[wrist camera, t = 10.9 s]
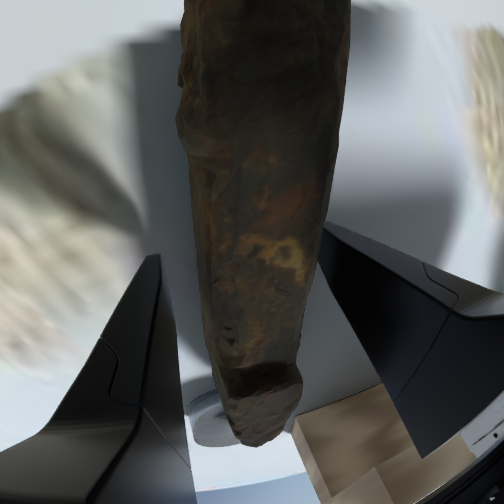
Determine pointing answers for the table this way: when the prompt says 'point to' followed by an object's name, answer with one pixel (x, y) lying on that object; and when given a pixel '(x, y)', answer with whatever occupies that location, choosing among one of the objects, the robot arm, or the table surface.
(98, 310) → the table surface
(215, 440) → the steel token
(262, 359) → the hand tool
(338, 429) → the beige wooden box
